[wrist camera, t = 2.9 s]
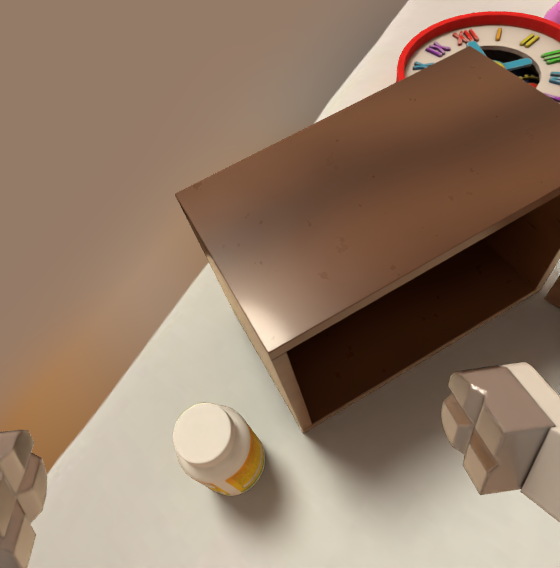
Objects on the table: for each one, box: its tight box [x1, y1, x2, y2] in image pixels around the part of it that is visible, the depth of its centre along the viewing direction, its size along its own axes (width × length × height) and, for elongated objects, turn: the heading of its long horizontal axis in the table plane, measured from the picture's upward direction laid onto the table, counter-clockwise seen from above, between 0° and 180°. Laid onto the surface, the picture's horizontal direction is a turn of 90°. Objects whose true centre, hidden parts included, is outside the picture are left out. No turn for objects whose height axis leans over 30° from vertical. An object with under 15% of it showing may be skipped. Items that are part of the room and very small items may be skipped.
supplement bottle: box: [173, 403, 265, 496], centre depth 35 cm, size 5×5×10 cm
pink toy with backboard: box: [544, 2, 560, 24], centre depth 58 cm, size 7×5×9 cm
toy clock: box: [396, 11, 560, 104], centre depth 53 cm, size 20×6×20 cm
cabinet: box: [175, 46, 560, 433], centre depth 37 cm, size 14×25×17 cm, turn 119°
